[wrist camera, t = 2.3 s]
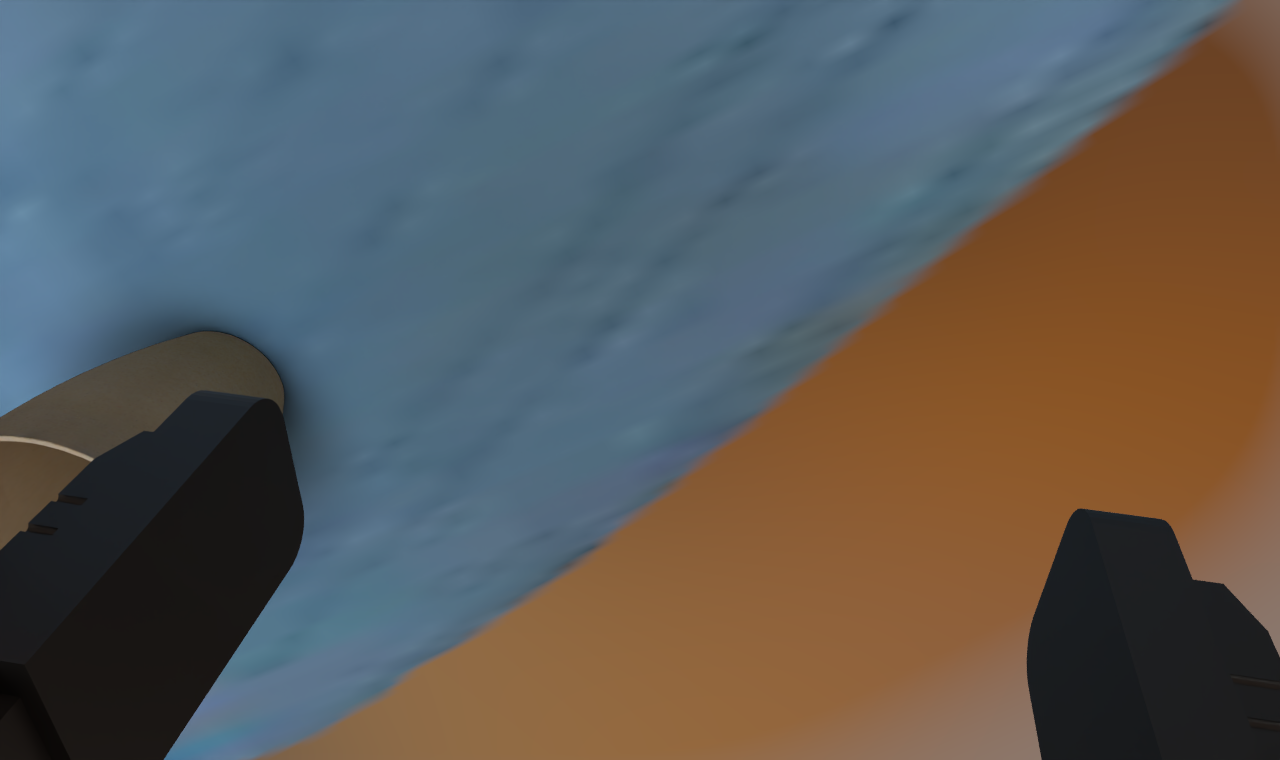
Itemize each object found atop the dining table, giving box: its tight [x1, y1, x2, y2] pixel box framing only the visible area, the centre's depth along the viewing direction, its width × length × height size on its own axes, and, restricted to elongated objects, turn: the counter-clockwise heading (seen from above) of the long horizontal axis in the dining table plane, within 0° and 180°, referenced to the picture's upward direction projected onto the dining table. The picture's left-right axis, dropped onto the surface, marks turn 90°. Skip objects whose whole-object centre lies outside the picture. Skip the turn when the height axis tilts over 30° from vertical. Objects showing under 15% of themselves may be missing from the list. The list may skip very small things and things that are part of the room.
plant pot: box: [0, 331, 284, 550], centre depth 55 cm, size 15×15×16 cm
